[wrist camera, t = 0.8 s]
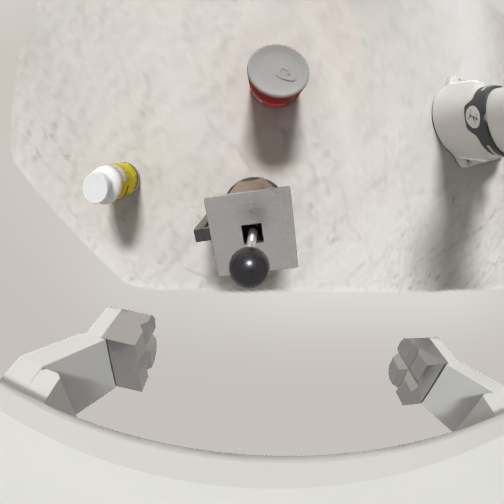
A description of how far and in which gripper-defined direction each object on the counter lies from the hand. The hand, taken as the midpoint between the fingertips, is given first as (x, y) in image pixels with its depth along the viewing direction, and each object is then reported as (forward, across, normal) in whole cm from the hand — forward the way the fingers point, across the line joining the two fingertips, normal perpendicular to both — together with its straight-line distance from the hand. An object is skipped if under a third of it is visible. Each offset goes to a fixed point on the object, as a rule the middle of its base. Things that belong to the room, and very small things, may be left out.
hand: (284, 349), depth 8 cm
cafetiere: (+41, +1, +4) cm, 41 cm away
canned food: (+41, 0, -17) cm, 44 cm away
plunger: (+31, 0, +4) cm, 31 cm away
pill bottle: (+42, +24, +1) cm, 48 cm away
